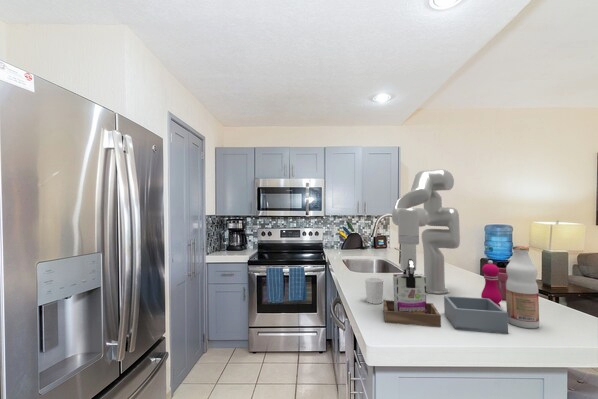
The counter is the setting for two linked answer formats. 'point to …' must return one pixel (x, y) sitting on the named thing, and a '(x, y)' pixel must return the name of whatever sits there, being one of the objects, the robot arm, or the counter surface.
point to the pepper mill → (491, 283)
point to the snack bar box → (409, 294)
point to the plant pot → (502, 282)
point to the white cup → (374, 290)
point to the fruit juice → (522, 290)
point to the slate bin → (475, 314)
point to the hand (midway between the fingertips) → (409, 284)
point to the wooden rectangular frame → (412, 315)
